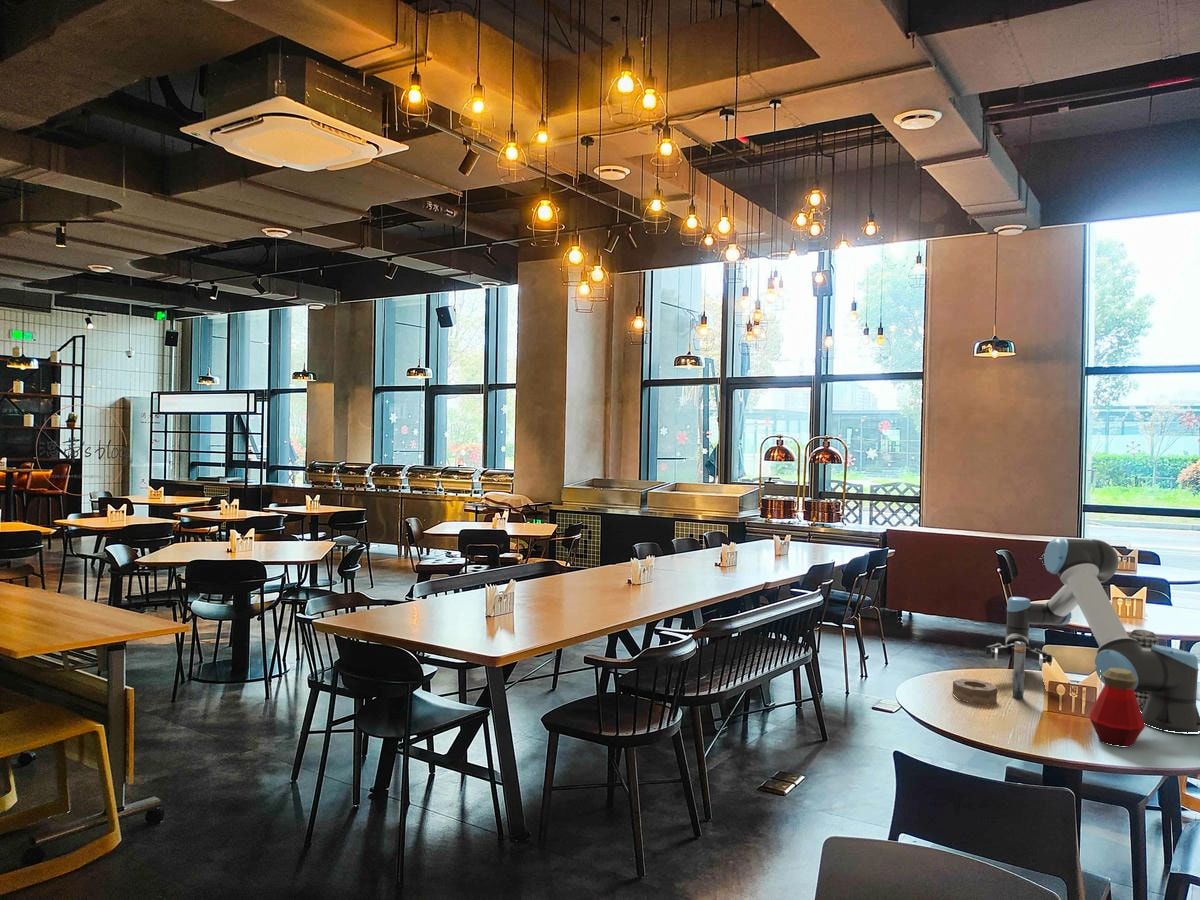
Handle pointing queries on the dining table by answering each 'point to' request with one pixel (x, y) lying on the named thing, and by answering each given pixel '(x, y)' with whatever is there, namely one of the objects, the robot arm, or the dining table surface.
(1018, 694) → the copper-banded metal rod
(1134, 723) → the bottle
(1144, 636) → the decorative candle
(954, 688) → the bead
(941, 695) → the dining table surface
